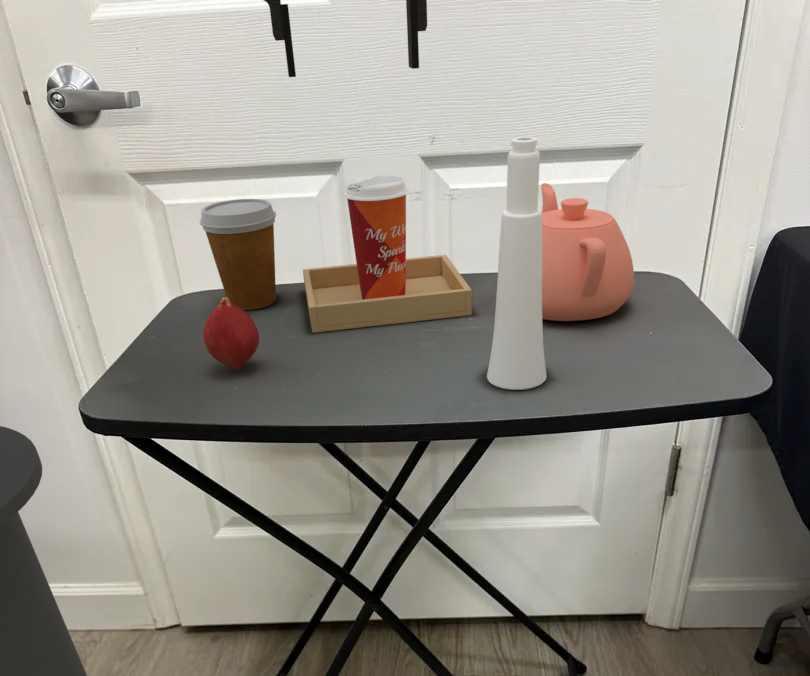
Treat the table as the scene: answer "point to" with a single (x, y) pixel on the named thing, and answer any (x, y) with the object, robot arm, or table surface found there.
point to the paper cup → (379, 234)
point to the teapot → (582, 261)
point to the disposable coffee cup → (243, 249)
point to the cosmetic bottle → (519, 277)
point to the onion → (230, 335)
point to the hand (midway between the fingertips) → (353, 72)
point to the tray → (424, 297)
